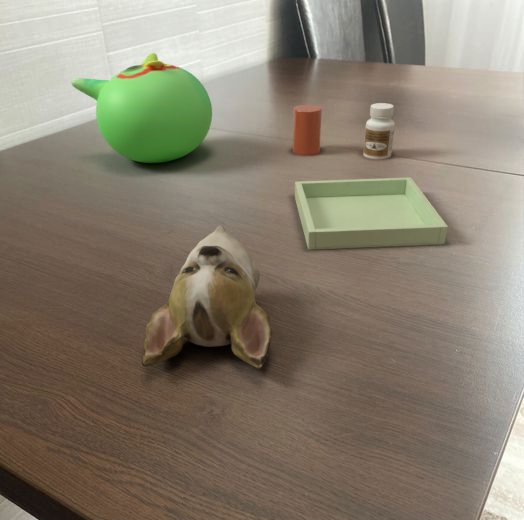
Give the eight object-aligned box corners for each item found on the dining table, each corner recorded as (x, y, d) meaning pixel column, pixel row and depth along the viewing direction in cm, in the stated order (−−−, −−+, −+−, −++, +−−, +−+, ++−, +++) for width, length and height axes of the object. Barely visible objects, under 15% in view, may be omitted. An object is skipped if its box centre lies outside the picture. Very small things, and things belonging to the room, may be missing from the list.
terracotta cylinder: (317, 148, 92) (319, 104, 88) (321, 157, 89) (323, 111, 84) (291, 149, 92) (292, 105, 88) (294, 158, 89) (294, 112, 84)
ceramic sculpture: (277, 209, 50) (267, 306, 39) (278, 288, 56) (270, 394, 44) (162, 209, 51) (119, 304, 40) (174, 287, 57) (140, 390, 45)
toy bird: (147, 186, 80) (130, 74, 71) (82, 161, 89) (60, 60, 80) (234, 155, 90) (230, 54, 81) (168, 136, 99) (157, 44, 91)
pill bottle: (360, 160, 87) (364, 108, 83) (366, 151, 91) (371, 101, 86) (387, 162, 86) (394, 110, 81) (393, 154, 89) (399, 103, 85)
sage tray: (408, 195, 75) (411, 177, 74) (444, 247, 63) (448, 226, 61) (294, 199, 75) (294, 181, 73) (308, 252, 63) (308, 231, 61)
